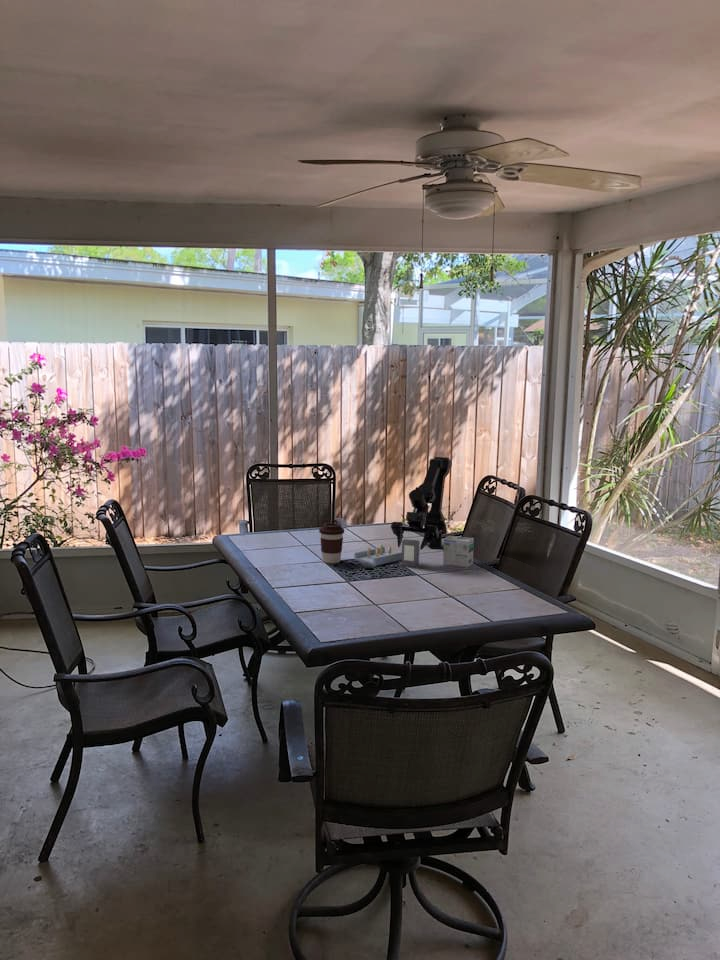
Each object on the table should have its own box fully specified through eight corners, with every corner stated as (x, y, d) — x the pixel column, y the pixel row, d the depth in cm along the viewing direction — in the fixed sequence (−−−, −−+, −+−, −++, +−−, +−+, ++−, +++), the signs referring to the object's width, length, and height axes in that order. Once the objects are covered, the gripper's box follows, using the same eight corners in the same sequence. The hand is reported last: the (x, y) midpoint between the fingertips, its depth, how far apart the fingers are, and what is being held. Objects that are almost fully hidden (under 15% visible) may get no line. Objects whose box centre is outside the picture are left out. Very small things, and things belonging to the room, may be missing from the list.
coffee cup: (327, 565, 297) (328, 528, 294) (314, 560, 304) (314, 523, 302) (348, 562, 302) (349, 525, 300) (334, 557, 310) (335, 521, 308)
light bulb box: (473, 564, 304) (474, 537, 302) (468, 568, 297) (469, 541, 296) (447, 560, 308) (448, 534, 306) (442, 564, 302) (443, 538, 300)
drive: (404, 563, 302) (405, 539, 301) (418, 565, 300) (419, 540, 298) (401, 565, 299) (402, 541, 297) (415, 567, 297) (416, 542, 295)
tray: (382, 553, 317) (383, 541, 317) (403, 559, 309) (403, 547, 308) (354, 559, 307) (354, 547, 306) (375, 565, 298) (375, 553, 297)
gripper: (392, 501, 303) (382, 534, 294) (438, 505, 296) (428, 539, 288) (398, 517, 311) (388, 549, 303) (442, 521, 304) (434, 554, 296)
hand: (409, 548), depth 297 cm, fingers open, 9 cm apart
